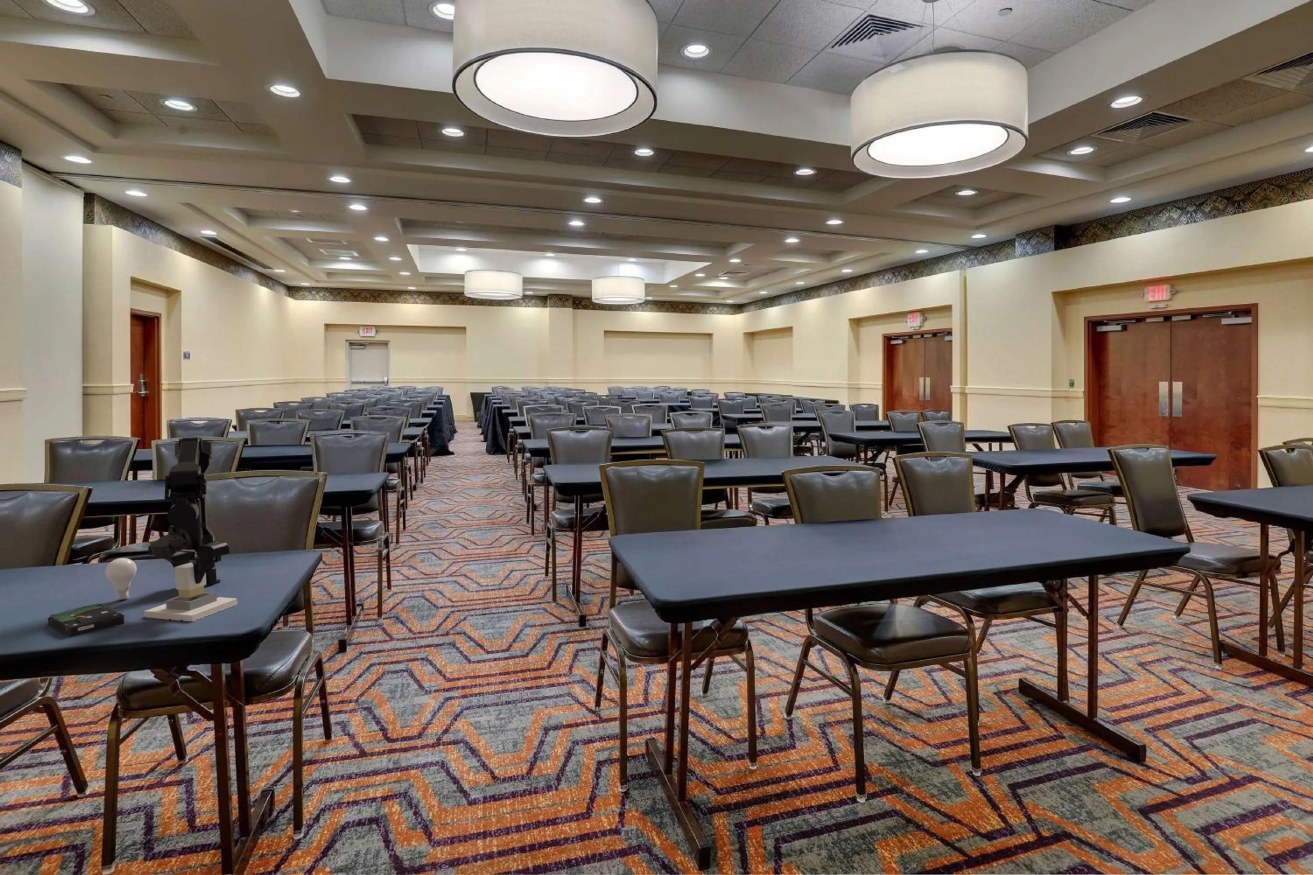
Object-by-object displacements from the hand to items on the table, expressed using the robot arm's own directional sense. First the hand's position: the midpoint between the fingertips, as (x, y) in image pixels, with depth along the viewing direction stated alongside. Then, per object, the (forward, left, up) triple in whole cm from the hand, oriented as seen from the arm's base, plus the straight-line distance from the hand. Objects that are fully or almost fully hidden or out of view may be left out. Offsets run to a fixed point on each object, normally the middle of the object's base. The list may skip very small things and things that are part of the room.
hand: (190, 582), depth 169 cm
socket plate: (0, 0, -7) cm, 7 cm away
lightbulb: (-25, +3, -7) cm, 26 cm away
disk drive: (-16, -13, -8) cm, 22 cm away
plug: (0, 0, -3) cm, 3 cm away
